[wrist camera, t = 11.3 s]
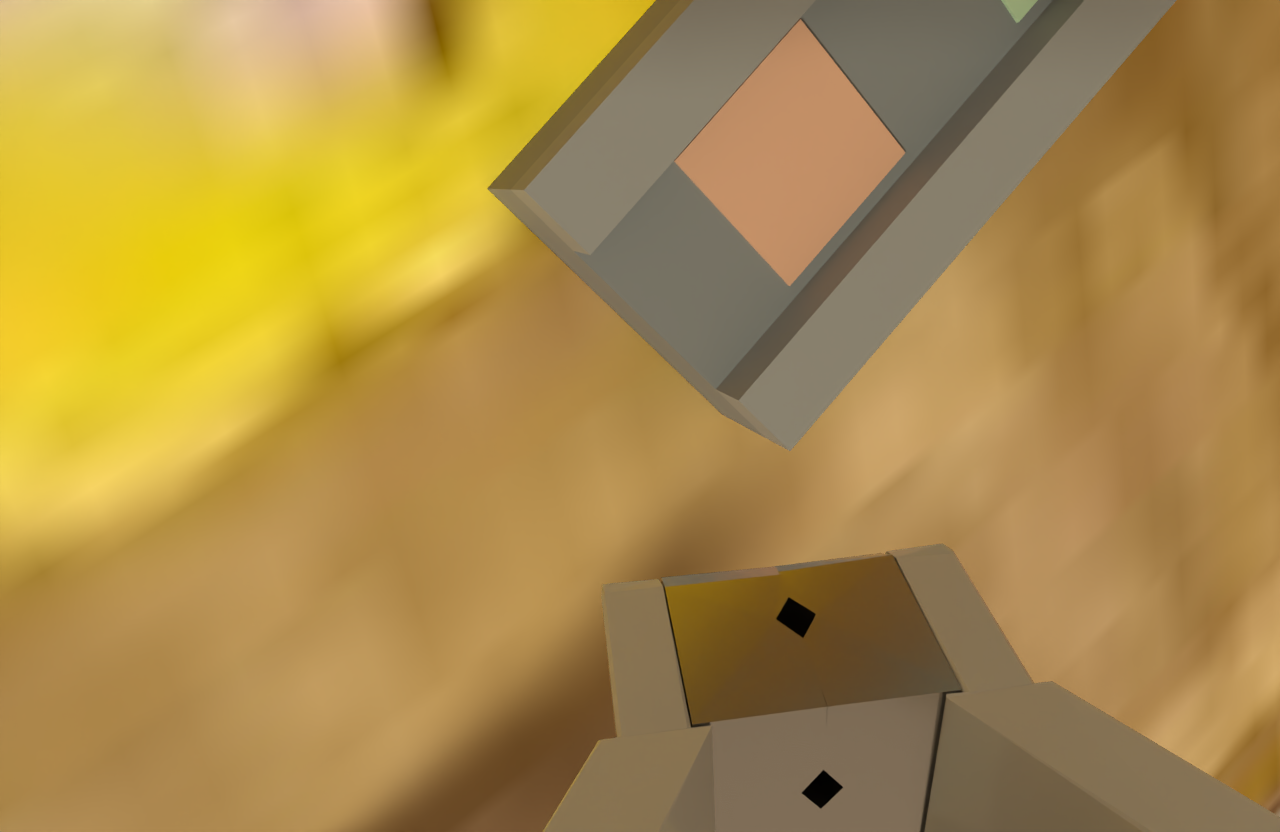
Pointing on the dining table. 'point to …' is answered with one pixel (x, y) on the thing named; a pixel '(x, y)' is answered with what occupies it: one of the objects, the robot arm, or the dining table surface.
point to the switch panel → (802, 172)
